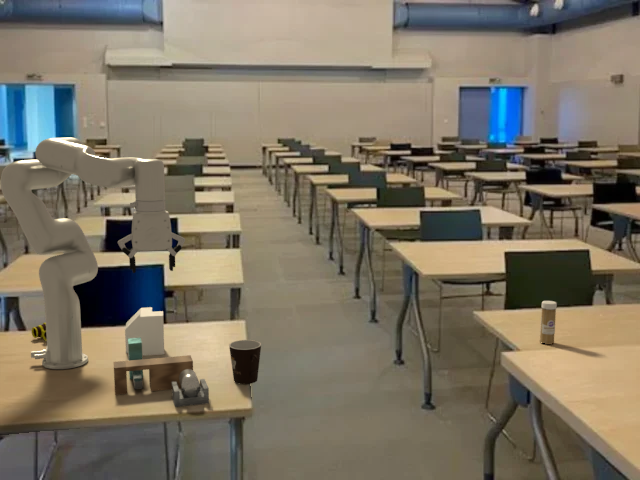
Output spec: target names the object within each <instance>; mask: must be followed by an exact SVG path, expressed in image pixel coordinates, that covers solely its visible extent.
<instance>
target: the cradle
mask: <svg viewBox="0 0 640 480" xmlns="http://www.w3.org/2000/svg"><path fill="white" fill-rule="evenodd" d="M199 383H200V386H201V389H200V392H199V393H198V394H197V395H196V396H193V397H188V396H186V395H185V394H184V393H183V391H182V388H180V389H179V388H178V385H177V382H172V389H171V399H172V402H173V406H174V408H178V407H189V406H198V405H208V404H210V395H209V393H210V390H209V386H208V383H207V381H206V379H205V378H200V379H199Z"/></svg>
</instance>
